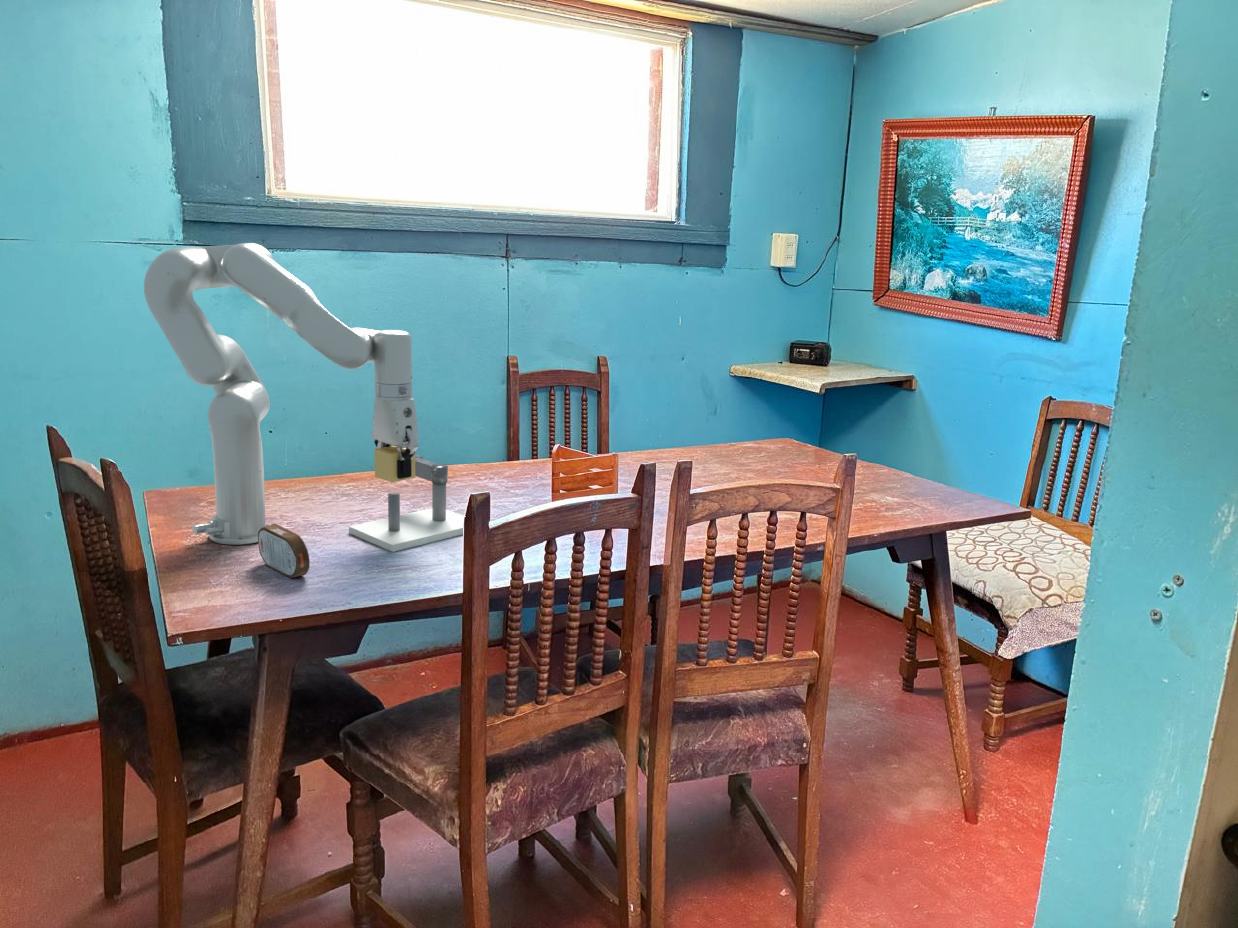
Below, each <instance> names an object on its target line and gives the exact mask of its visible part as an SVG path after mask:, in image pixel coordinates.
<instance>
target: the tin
mask: <svg viewBox="0 0 1238 928" xmlns="http://www.w3.org/2000/svg"><path fill="white" fill-rule="evenodd" d="M268 525H269V526H265V527H263V528H261V529H260V530H259V532H258V542H257V543H258V552H259V554H260V557H261V559H262V561H263V563H264V564H265V565H266V566H267V567H269V568H270V569H272V570H274V571H276V572H278V573H280V574H282V575H284V576H286V577H287V578H289V579H295V578H298V577H301V576H306V575H307V574H308V572H309V569H310V565H311V564H310V561H311V560H310V556H309V554H310V553H309V551H308V548H307V545H306V543H305V542H304V540H303V538H302V537H301V536H300V534H297V533H296V532H294V531H292V530H289V529H288V528H285V527H283V526H281V525H279V524H278V523H271V524H268Z"/></svg>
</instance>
